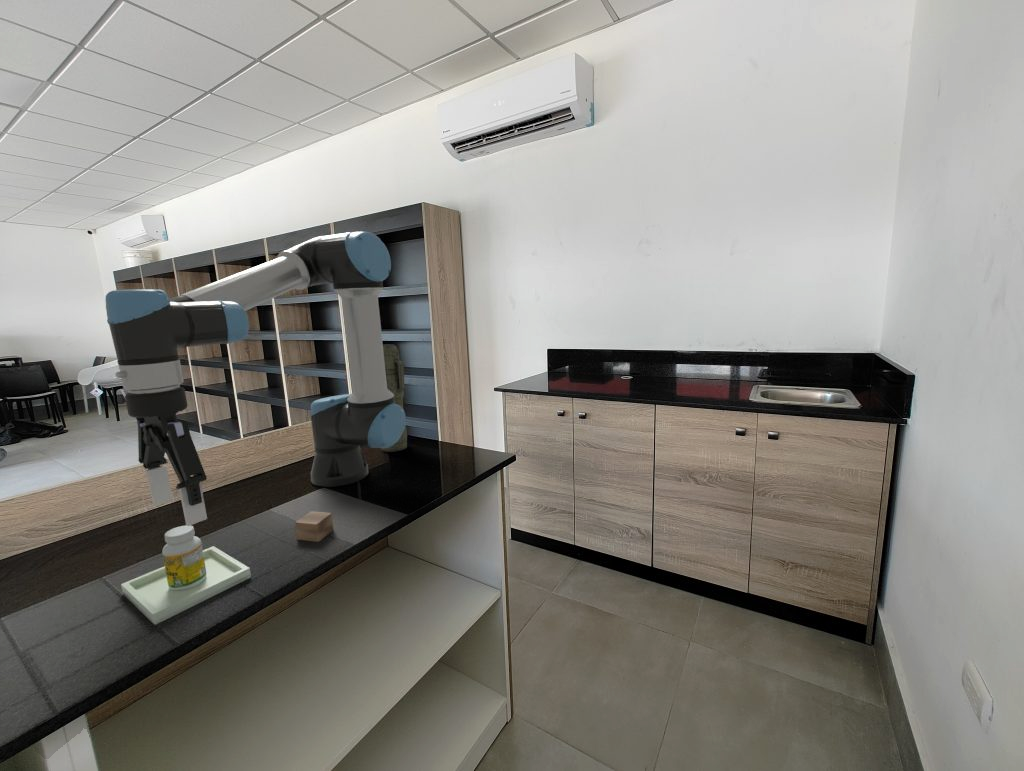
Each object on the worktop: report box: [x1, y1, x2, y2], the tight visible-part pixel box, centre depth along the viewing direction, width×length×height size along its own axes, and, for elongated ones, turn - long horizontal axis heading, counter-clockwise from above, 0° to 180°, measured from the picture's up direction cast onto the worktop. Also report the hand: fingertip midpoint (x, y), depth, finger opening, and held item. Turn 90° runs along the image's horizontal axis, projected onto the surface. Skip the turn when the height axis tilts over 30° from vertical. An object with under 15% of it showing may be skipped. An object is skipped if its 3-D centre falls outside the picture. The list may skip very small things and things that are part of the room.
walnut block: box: [294, 510, 334, 543], centre depth 92 cm, size 5×5×4 cm
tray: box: [120, 545, 252, 626], centre depth 76 cm, size 14×14×2 cm
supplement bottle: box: [161, 524, 206, 591], centre depth 75 cm, size 5×5×10 cm
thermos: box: [380, 343, 408, 453], centre depth 146 cm, size 9×12×35 cm
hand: (179, 512), depth 74 cm, fingers open, 13 cm apart
